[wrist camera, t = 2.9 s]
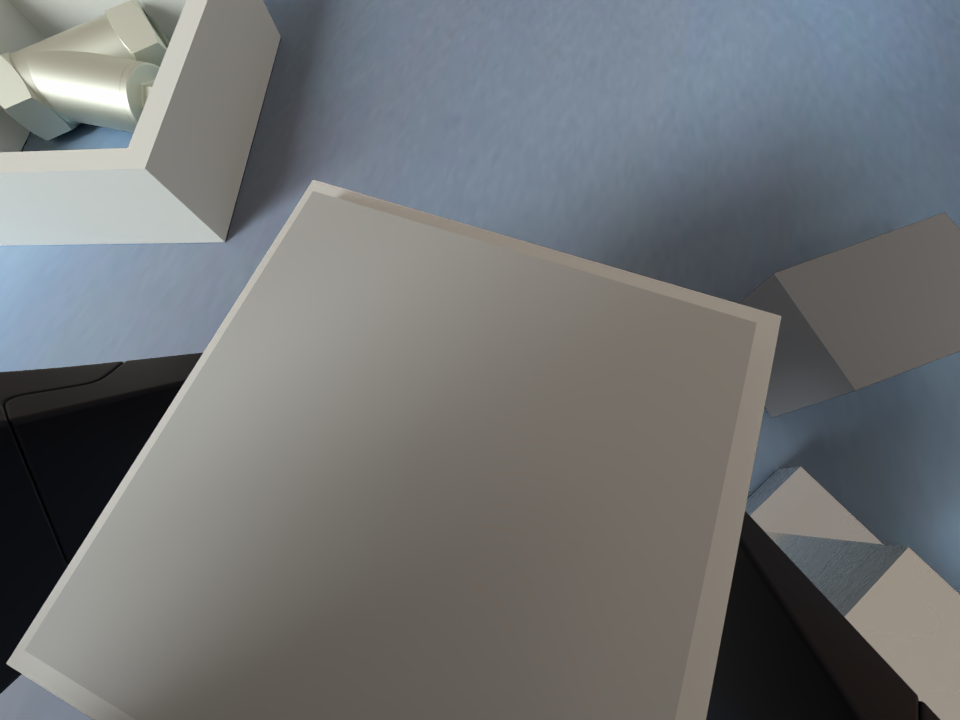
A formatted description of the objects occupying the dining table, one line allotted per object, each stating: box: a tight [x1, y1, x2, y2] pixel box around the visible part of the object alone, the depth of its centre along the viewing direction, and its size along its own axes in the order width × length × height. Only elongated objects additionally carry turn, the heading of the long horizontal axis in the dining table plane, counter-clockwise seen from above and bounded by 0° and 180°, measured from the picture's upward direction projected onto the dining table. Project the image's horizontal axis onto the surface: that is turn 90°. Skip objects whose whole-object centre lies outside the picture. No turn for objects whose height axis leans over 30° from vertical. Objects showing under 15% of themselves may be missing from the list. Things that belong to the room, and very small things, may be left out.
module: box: [6, 180, 781, 720], centre depth 9 cm, size 5×5×12 cm
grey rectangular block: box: [739, 212, 960, 418], centre depth 14 cm, size 6×4×4 cm, turn 110°
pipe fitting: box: [0, 0, 170, 141], centre depth 21 cm, size 8×4×7 cm
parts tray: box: [0, 0, 281, 246], centre depth 20 cm, size 14×14×4 cm
